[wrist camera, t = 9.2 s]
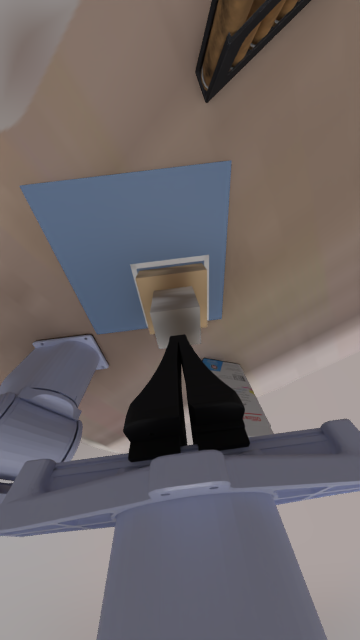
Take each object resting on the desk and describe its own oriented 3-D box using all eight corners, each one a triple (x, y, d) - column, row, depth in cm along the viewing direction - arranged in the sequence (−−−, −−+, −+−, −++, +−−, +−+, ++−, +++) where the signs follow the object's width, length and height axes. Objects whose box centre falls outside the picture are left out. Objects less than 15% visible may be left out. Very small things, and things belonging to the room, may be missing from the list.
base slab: (152, 322, 24) (150, 334, 21) (139, 270, 19) (135, 278, 17) (202, 315, 24) (207, 327, 21) (201, 263, 19) (207, 269, 17)
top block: (160, 322, 20) (158, 349, 16) (153, 290, 18) (149, 312, 14) (194, 318, 20) (201, 343, 16) (191, 285, 18) (199, 306, 14)
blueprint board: (98, 332, 25) (96, 334, 24) (23, 186, 15) (18, 185, 14) (220, 317, 25) (221, 319, 24) (229, 162, 15) (231, 160, 14)
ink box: (194, 373, 32) (211, 467, 20) (203, 357, 30) (229, 453, 18) (229, 378, 34) (264, 466, 22) (240, 363, 32) (287, 454, 20)
